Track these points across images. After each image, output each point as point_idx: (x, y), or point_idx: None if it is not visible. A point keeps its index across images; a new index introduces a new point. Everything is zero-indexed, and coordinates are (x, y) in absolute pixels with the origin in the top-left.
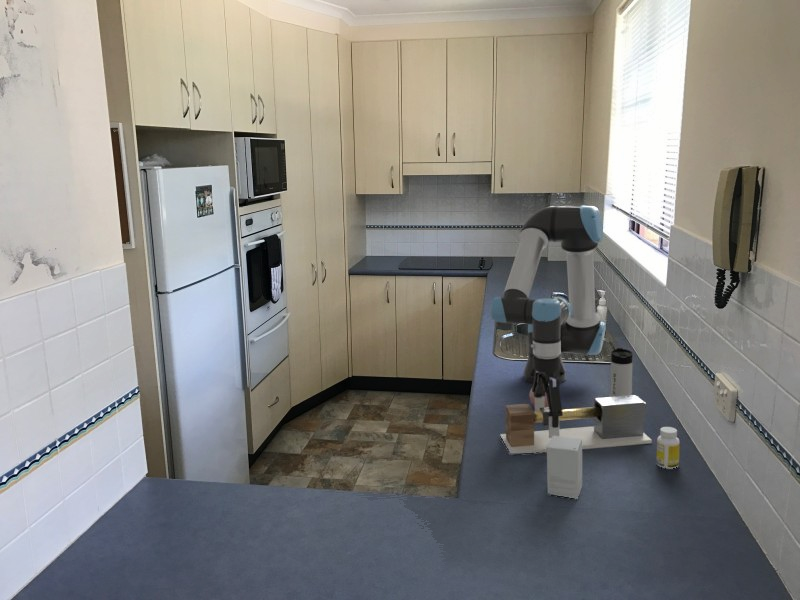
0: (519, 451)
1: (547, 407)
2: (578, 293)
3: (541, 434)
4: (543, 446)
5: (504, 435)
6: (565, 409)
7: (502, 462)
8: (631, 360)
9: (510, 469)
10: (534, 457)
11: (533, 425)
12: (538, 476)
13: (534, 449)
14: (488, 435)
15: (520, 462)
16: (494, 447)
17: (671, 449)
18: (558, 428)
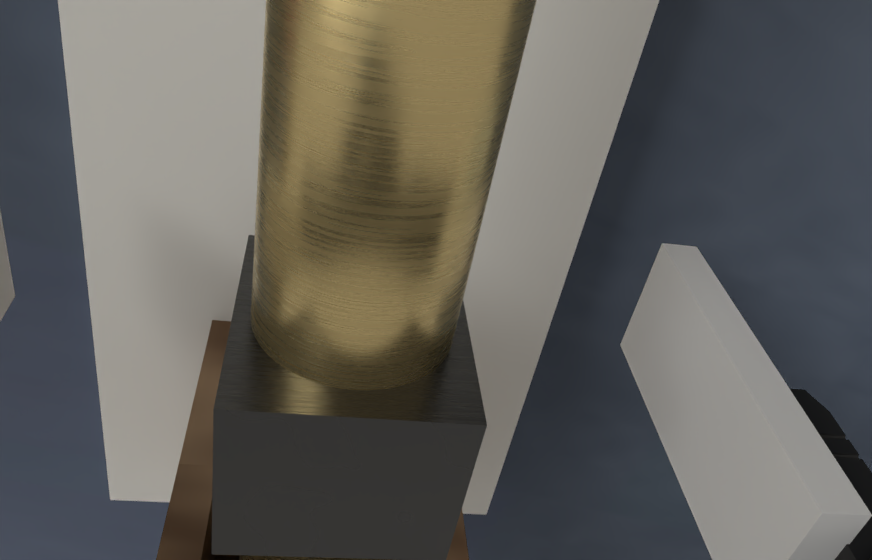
0: (502, 464)
1: (237, 454)
2: None
3: (192, 181)
4: (501, 276)
5: (145, 479)
6: (385, 111)
7: (555, 547)
8: None
9: (670, 533)
10: (594, 366)
11: (462, 523)
12: (864, 432)
13: (526, 365)
14: (57, 528)
15: (615, 466)
16: None
17: None
18: (742, 339)
